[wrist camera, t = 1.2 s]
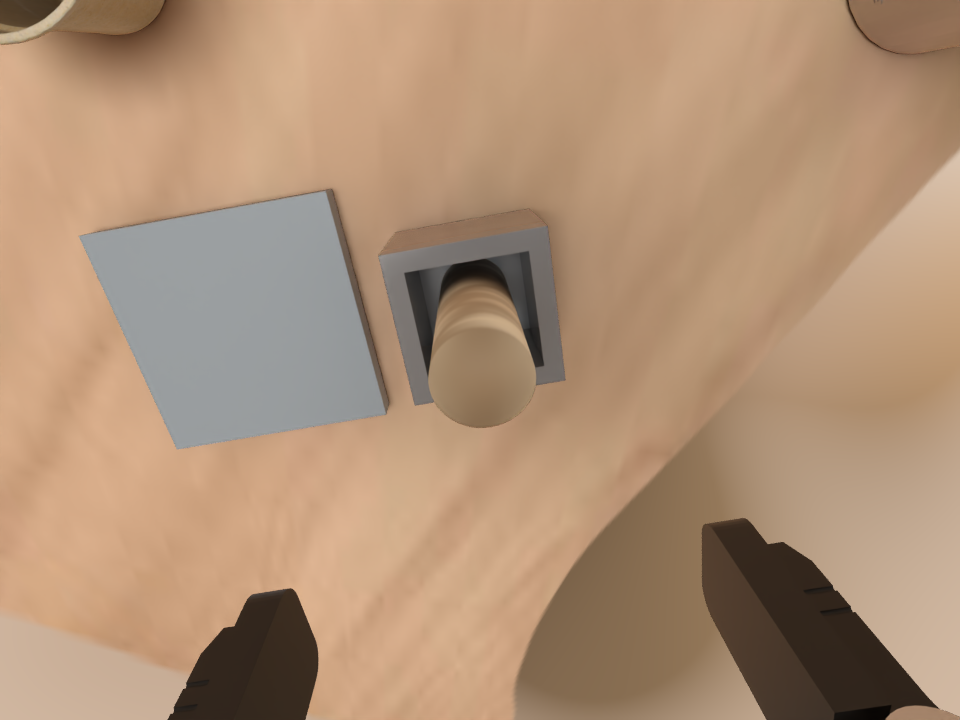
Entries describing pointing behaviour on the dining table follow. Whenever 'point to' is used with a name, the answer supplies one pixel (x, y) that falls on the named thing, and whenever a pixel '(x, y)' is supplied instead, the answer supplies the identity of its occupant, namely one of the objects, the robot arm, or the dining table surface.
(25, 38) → the flower pot
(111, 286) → the board
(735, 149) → the dining table surface
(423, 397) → the grey open box
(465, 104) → the dining table surface
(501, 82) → the dining table surface
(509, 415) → the dowel
